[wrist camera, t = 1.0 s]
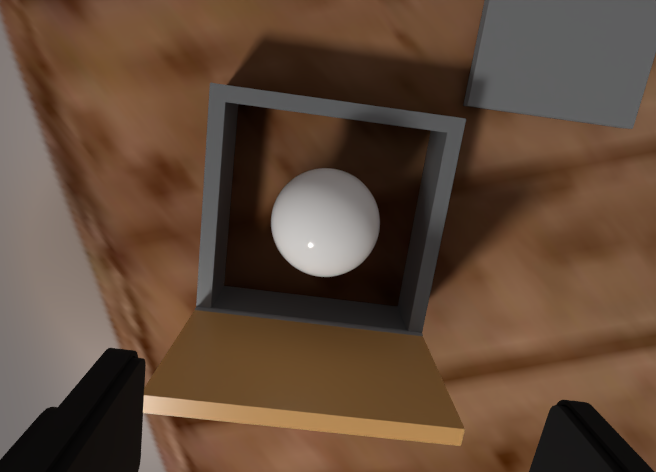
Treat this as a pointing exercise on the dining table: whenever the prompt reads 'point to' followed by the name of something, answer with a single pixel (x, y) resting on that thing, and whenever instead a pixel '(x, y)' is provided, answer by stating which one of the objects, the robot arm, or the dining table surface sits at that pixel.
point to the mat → (564, 59)
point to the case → (312, 312)
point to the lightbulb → (325, 222)
